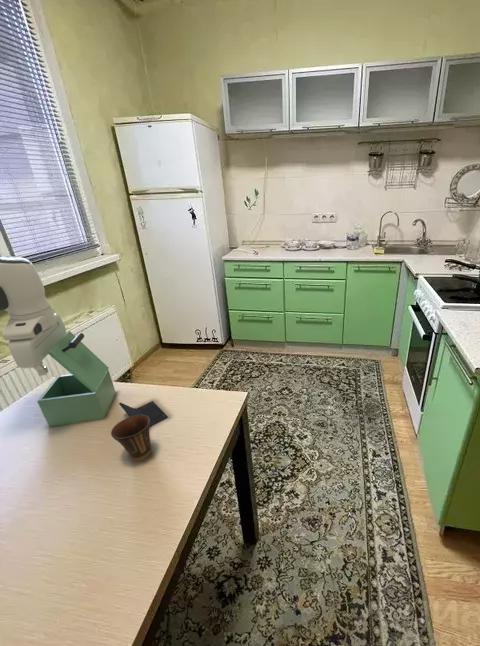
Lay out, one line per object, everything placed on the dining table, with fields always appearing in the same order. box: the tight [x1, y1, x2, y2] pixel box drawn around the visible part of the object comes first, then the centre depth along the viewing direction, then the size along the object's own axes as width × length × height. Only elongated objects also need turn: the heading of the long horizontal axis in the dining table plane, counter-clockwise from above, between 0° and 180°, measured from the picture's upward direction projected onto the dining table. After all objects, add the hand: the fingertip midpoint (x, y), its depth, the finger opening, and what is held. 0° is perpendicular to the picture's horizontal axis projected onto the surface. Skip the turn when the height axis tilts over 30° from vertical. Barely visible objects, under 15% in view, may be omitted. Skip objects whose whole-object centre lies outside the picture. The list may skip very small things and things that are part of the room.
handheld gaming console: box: [118, 400, 169, 428], centre depth 93 cm, size 12×7×10 cm
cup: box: [110, 415, 153, 463], centre depth 80 cm, size 9×9×10 cm
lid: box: [48, 330, 110, 393], centre depth 91 cm, size 15×13×5 cm
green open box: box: [36, 369, 117, 427], centre depth 96 cm, size 15×13×10 cm
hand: (51, 364), depth 90 cm, fingers open, 8 cm apart
